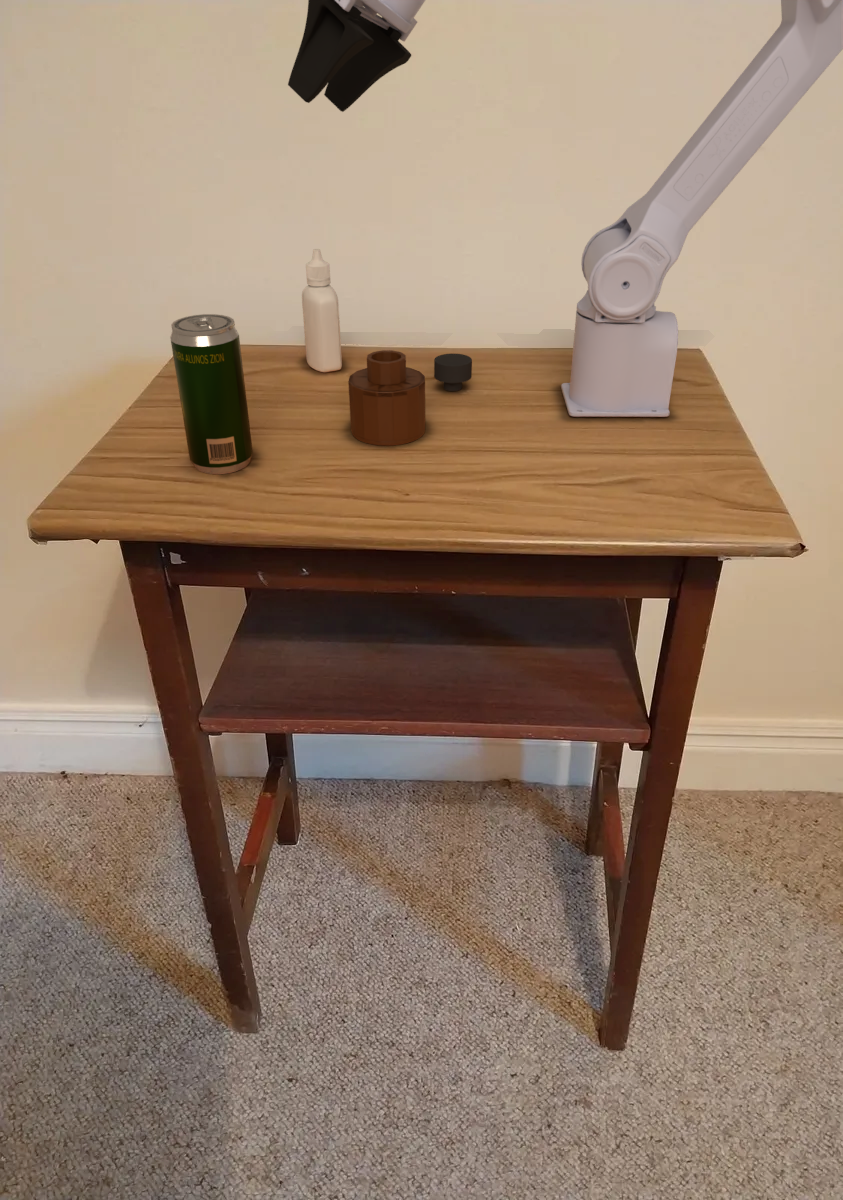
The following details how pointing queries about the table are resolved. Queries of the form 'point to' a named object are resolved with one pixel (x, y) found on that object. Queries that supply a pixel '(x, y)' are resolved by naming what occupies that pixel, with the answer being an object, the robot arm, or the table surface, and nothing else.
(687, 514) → the table surface
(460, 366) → the cylinder
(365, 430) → the amber bottle
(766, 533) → the table surface
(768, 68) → the robot arm
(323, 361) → the eye dropper bottle
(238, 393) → the beer can
